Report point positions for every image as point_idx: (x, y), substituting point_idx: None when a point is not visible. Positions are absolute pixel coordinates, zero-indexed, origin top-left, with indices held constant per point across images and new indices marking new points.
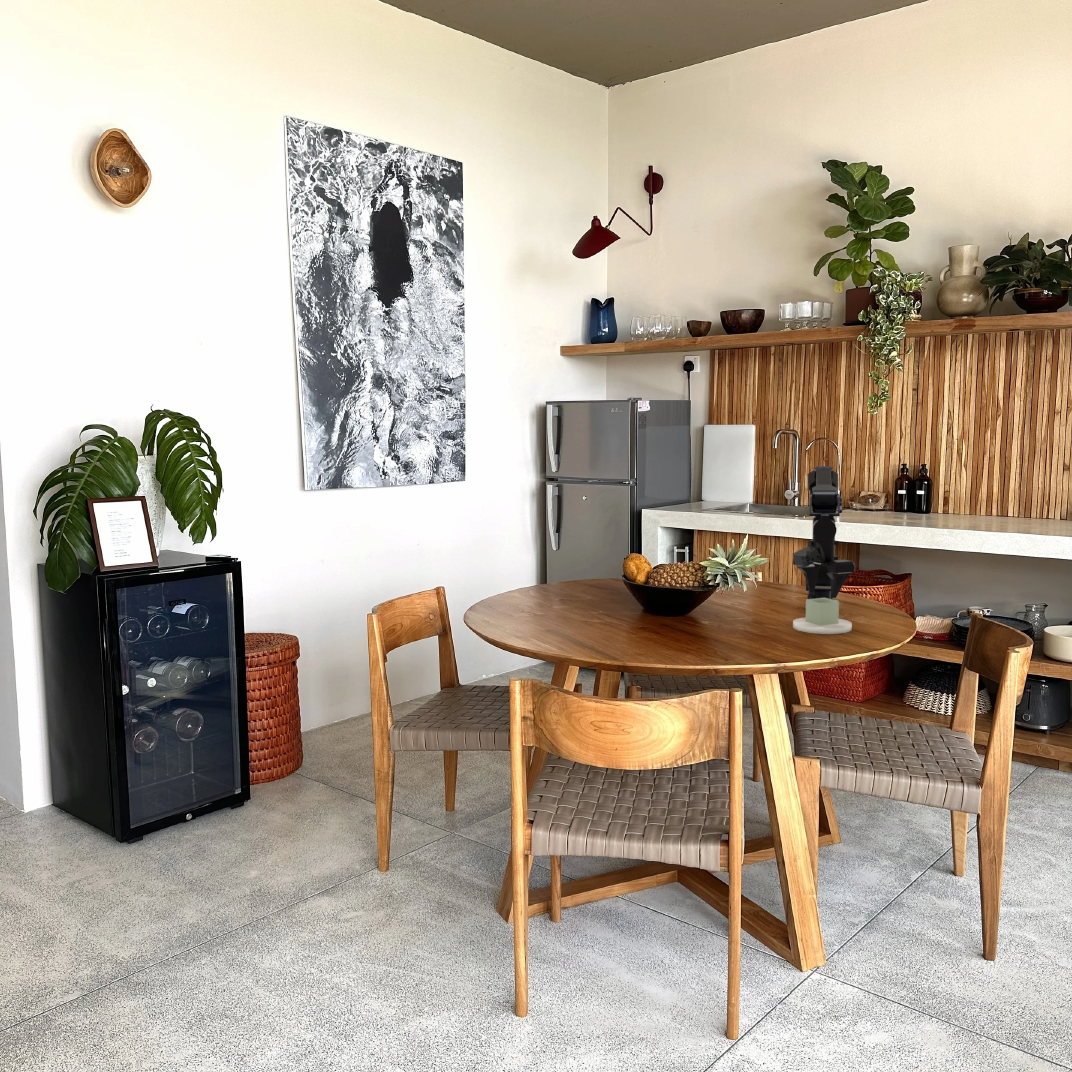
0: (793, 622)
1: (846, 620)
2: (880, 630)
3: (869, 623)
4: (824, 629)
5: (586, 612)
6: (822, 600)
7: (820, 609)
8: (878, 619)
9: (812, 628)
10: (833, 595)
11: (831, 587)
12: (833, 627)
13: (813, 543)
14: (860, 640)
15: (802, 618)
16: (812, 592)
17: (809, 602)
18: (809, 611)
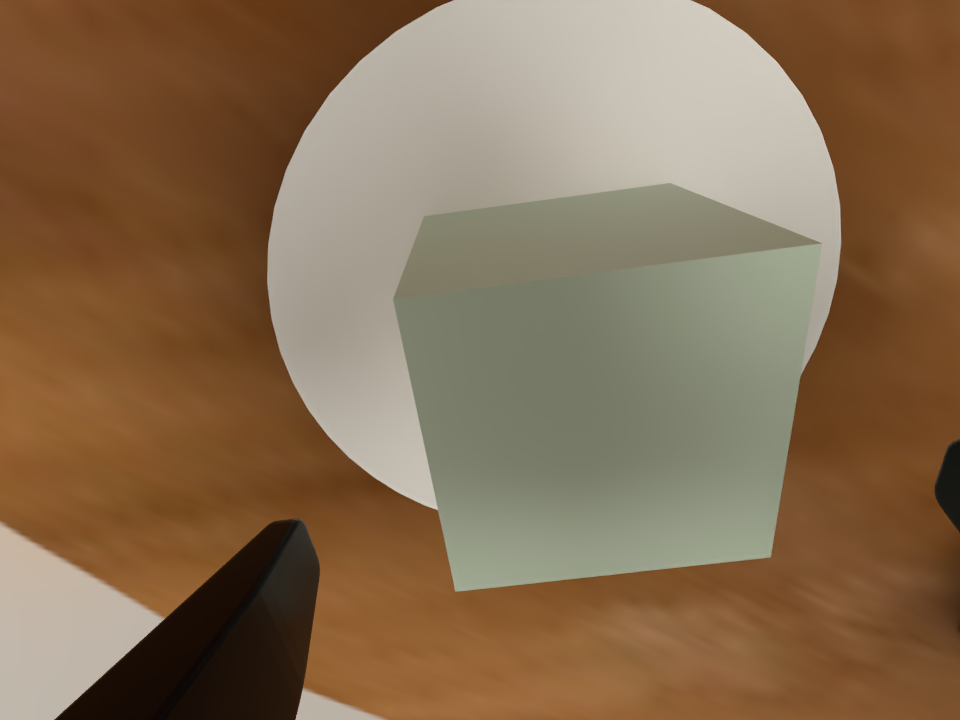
0: (695, 3)
1: None
2: (366, 605)
3: (574, 639)
4: (285, 187)
5: None
6: (594, 442)
7: (405, 271)
8: (646, 711)
9: (350, 76)
10: (239, 560)
11: (139, 707)
12: (301, 295)
13: None
14: (45, 352)
15: (809, 232)
16: (940, 474)
17: (694, 248)
18: (641, 216)
